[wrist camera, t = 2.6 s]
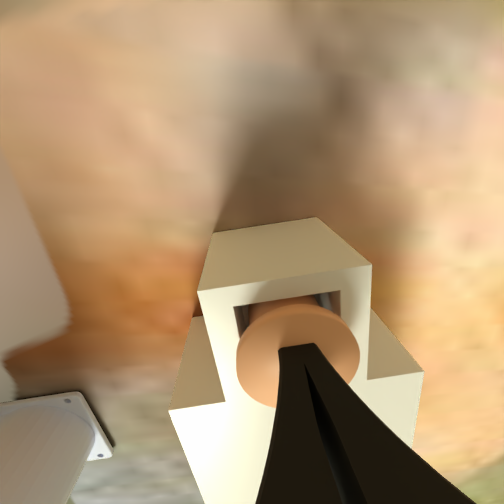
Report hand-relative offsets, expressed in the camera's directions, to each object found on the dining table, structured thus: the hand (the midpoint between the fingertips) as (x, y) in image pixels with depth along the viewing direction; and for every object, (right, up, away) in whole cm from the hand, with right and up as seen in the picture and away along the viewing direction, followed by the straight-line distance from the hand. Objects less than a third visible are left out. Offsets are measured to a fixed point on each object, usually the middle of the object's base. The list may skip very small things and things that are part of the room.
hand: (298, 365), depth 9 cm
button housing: (+1, -4, +11) cm, 11 cm away
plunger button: (0, +1, +3) cm, 4 cm away
